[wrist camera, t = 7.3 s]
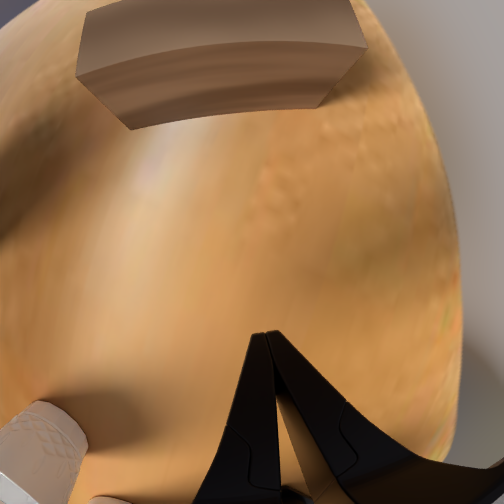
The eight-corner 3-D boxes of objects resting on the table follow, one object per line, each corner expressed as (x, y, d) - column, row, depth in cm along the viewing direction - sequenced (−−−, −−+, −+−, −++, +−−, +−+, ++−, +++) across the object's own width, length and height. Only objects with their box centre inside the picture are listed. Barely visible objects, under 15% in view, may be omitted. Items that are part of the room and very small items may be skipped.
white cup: (30, 378, 17) (-34, 439, 7) (104, 432, 18) (65, 517, 8) (21, 423, 17) (-25, 479, 7) (84, 469, 18) (53, 536, 8)
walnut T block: (315, 108, 17) (368, 48, 9) (130, 130, 16) (75, 76, 8) (284, -11, 16) (305, -77, 8) (135, 4, 15) (110, -60, 7)
